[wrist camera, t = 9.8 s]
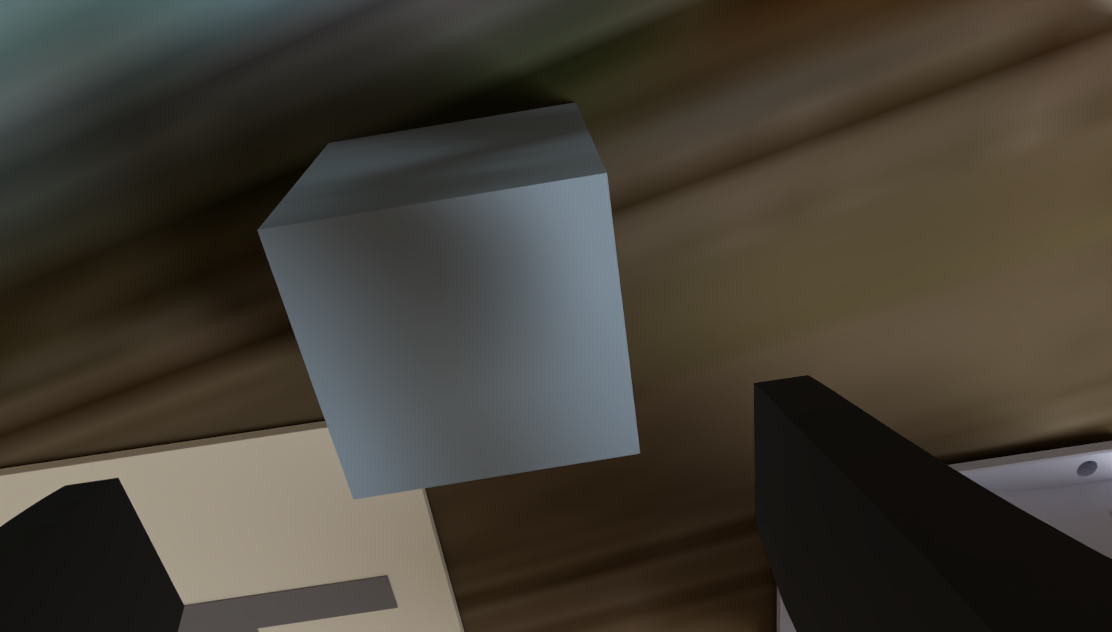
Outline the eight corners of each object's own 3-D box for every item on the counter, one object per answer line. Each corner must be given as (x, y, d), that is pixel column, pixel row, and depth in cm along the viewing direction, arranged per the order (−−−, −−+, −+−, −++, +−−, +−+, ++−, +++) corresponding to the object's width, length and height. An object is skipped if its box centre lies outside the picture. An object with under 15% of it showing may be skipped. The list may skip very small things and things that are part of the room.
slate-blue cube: (574, 101, 15) (607, 172, 10) (603, 319, 17) (640, 454, 13) (329, 141, 15) (257, 229, 10) (390, 354, 17) (353, 499, 13)
